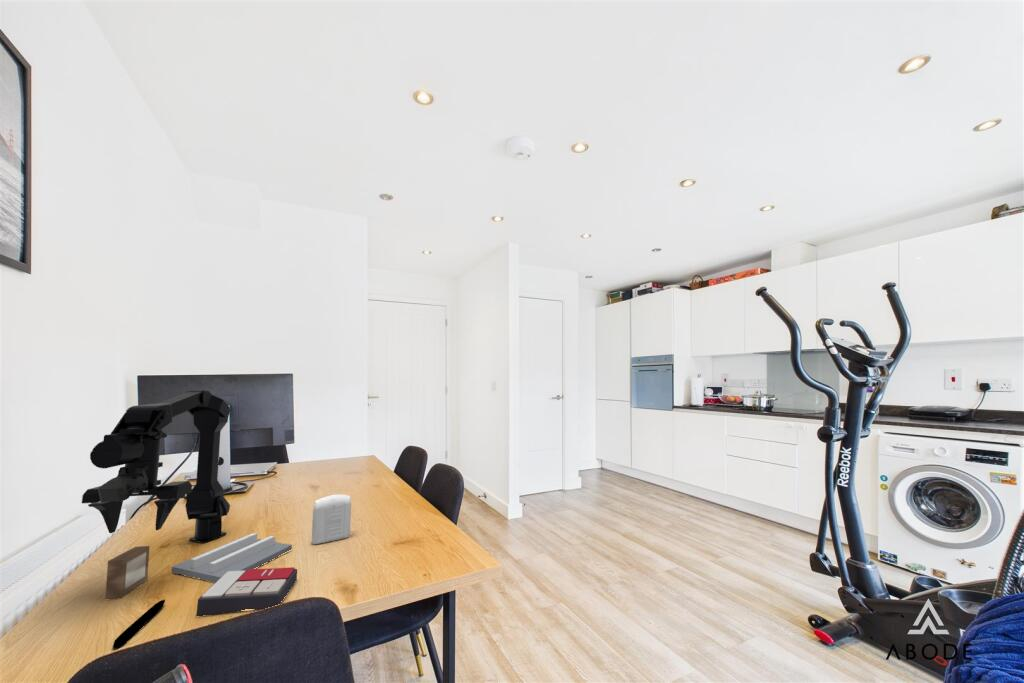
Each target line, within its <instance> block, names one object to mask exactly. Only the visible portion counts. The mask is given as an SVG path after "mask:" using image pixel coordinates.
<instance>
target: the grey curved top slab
mask: <svg viewBox="0 0 1024 683" xmlns="http://www.w3.org/2000/svg"><path fill="white" fill-rule="evenodd" d="M351 500H352V499H351V496H350V495H348V494H332V495H331V494H330V495H327V496H324V497H321V498H318V499H316V500H315V501H314V504H313V507H312V522H311V523H312V524H311V525H312V526H311V544H312V545H318V544H323V543H327V542H333V541H338V540H341V539H347V538H349V537H350V536H351V517H352V501H351Z"/></svg>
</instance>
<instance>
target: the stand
mask: <svg viewBox="0 0 1024 683" xmlns="http://www.w3.org/2000/svg"><path fill="white" fill-rule="evenodd" d="M291 549H292V550H293V545H292V544H289V543H284V542H278V541H276V536H274V535H269V536H267V537H265V538H263V539H259V538H258V533H255V532H253V533H251V534H248V535H244V536H242V537H239V538H237V539H234V540H233V541H229V542H227V543H225V544H222V545H220V546H218V547H215V548H213V549H211V550H208V551H205V552H203V553H201V554H199V555H196V556H194V557H191V558H188V559H187V560H185V561H181V562H180V563H176V564H175V565H172V566H171V570H170V571H171V572H172V573H171V574H173V573H176V574H175V575H177V574H181V575H180V576H182V575H186V576H190V577H189V578H191V577H195V578H200V579H203V580H202V581H204V580H207V581H206V582H208V581H210V582H209V583H213V582H215V583H216V582H217V581H218V580H219V579H220V578H221V577H222V576H223V575H224V574H225V573H226V572H228V571H247V570H249V569H254V568H256V567H258V566H260V565H262V564H264V563H266V562H268V561H270V560H272V559H274V558H276V557H278V556H279V555H281V554H283V553H285V552H287V551H289V550H291ZM278 558H279V557H278ZM276 559H277V558H276ZM274 560H275V559H274ZM272 561H273V560H272ZM270 562H271V561H270ZM268 563H269V562H268ZM266 564H267V563H266ZM186 576H185V577H186ZM195 578H194V579H195Z"/></svg>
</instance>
